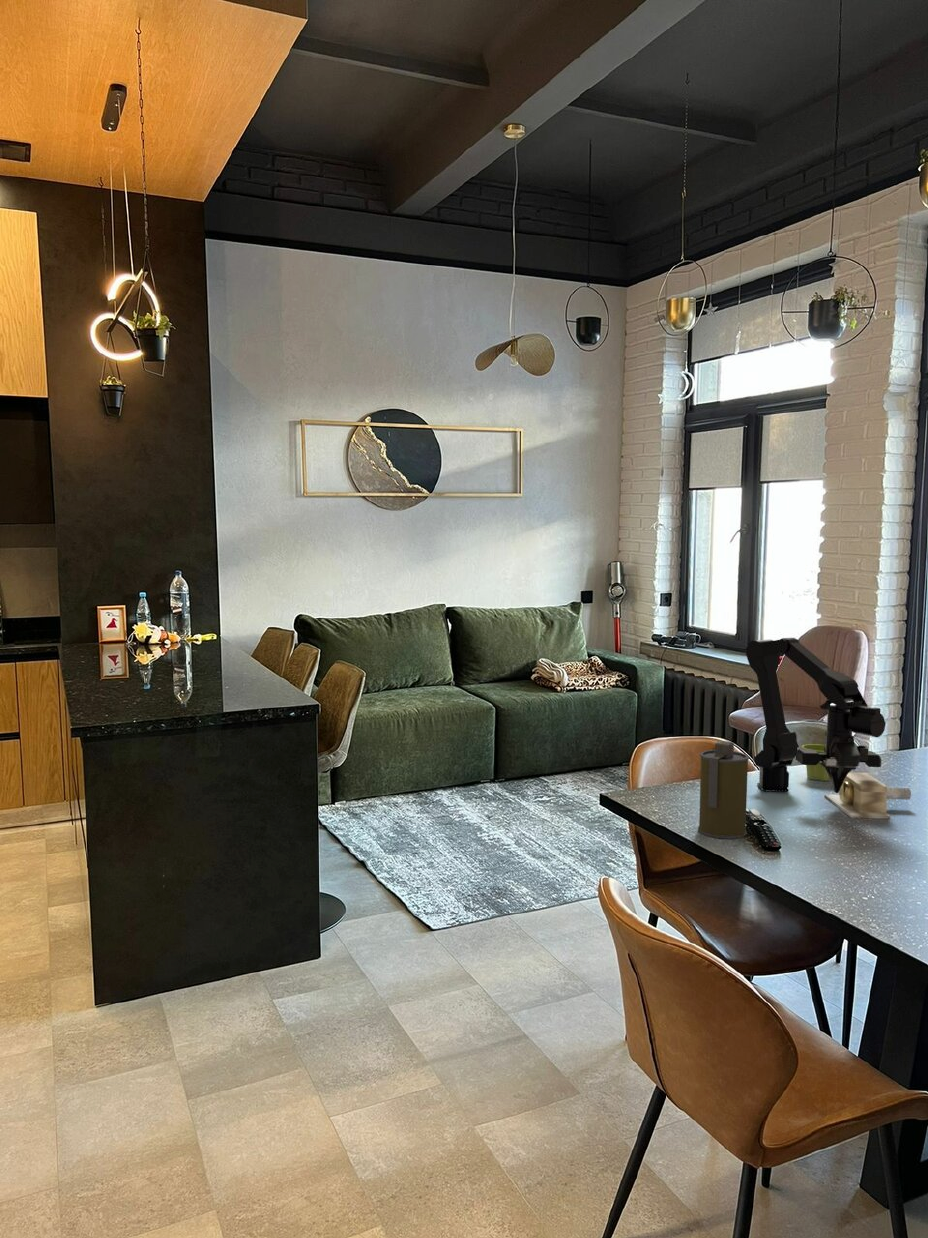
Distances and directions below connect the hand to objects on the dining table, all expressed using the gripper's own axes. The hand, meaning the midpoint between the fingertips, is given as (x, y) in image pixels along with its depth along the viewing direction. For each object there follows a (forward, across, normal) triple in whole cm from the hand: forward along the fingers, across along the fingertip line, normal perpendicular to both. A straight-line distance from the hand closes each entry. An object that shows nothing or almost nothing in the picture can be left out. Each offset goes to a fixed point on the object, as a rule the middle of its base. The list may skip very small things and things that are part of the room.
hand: (836, 792), depth 220 cm
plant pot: (+4, +5, +28) cm, 29 cm away
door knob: (+2, +9, 0) cm, 10 cm away
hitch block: (+4, +5, 0) cm, 6 cm away
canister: (+4, -32, -22) cm, 40 cm away
